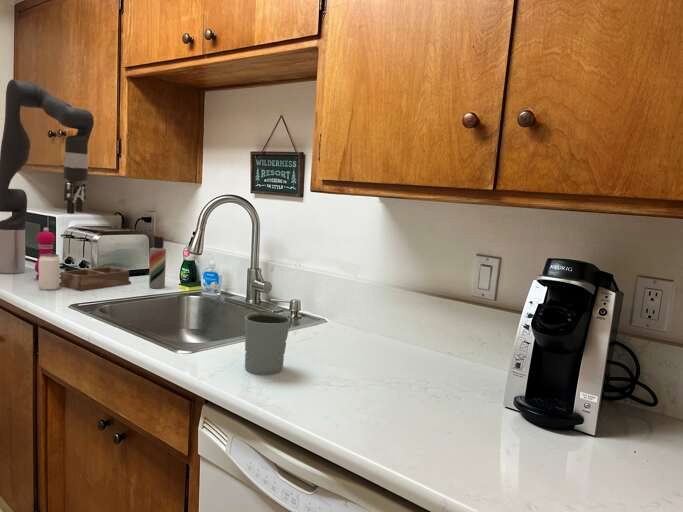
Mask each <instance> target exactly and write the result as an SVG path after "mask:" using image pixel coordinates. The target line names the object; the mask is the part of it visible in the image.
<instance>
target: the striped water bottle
mask: <svg viewBox="0 0 683 512" xmlns="http://www.w3.org/2000/svg"><path fill="white" fill-rule="evenodd" d="M164 242H165V237H164V236H163V237H162V236H159V235H154V236H153V237H152V247H151V248H150V249H149V277H148V278H149V281H148V286H149V289H156V290H157V289H164V288H165V286H166V263H167V262H166V260H167V249H166V248H165V247H164V245H165V243H164Z"/></svg>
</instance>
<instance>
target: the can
mask: <svg viewBox="0 0 683 512" xmlns="http://www.w3.org/2000/svg"><path fill="white" fill-rule="evenodd" d="M59 256H60V255H59V254H56V253H52V254H41V255H40V258H39V257H38V258H39V280H38V289H39V290H41V291H55V290H58V289H59V288H61V286H60V282H61V268H60V267H61V260H60V257H59Z"/></svg>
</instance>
